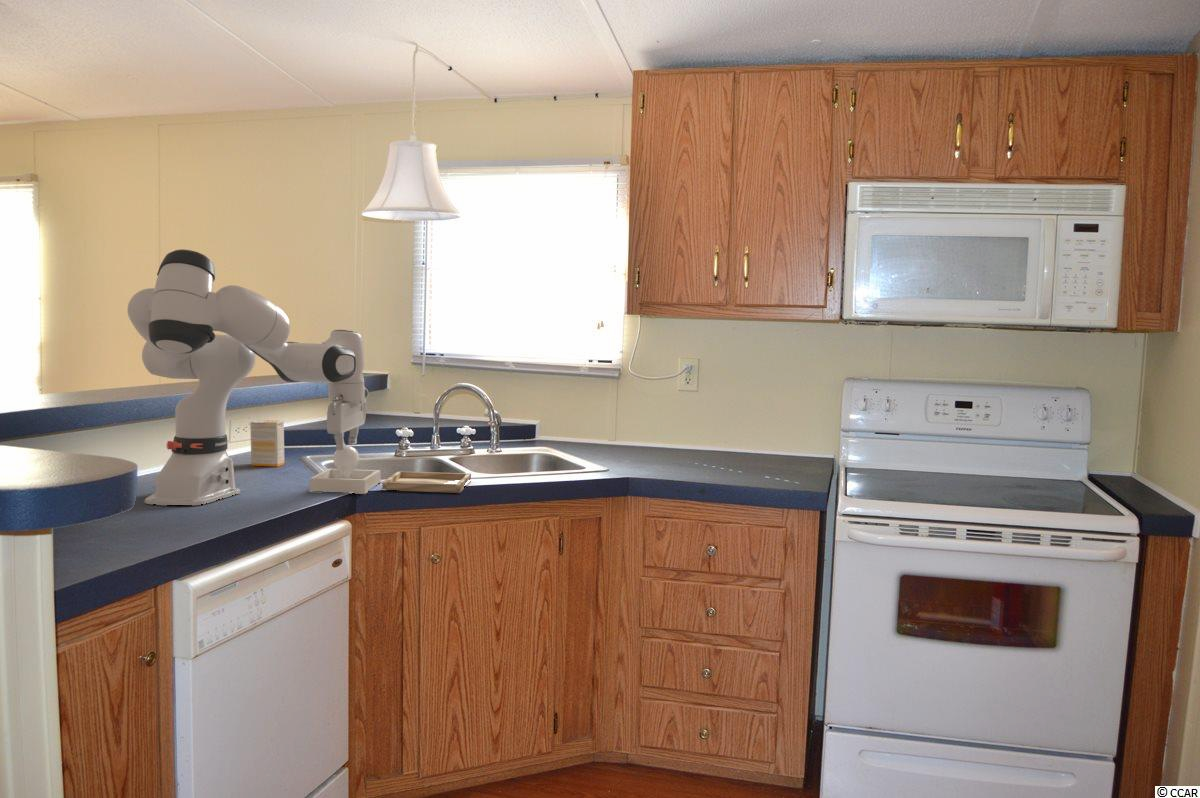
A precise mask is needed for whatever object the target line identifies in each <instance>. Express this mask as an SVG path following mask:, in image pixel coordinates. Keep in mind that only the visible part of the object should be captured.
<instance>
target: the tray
mask: <svg viewBox="0 0 1200 798" xmlns="http://www.w3.org/2000/svg"><path fill="white" fill-rule="evenodd" d="M470 479H471V480H472V473H469V472H468V473H465V472H462V473H461V472H457V473H456V472H438V471H436V472H433V471H432V472H431V471H404V470H403V471H400V470H398V471H396V472H395V473H394V474H392V475H391V476H389V477H388V478H387V479H385V480H383V481H382V487H381V488H382V489H385V490H384V491H387V490H397V491H396V492H421V493H423V492H424V493H448V494H449V493H451V494H453V493H454V494H455V493H456V494H461V493H462V492H463V490H464V489H465V488H464V485H465V483H466V482H467V481H468V480H470ZM455 480H460V481H459V482H458V483H457V484H444V483H447V482H448V481H455ZM398 490H399V491H398Z"/></svg>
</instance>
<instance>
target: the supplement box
mask: <svg viewBox="0 0 1200 798" xmlns="http://www.w3.org/2000/svg"><path fill="white" fill-rule="evenodd" d="M284 422H285V421H284V420H272V419H271V420H270V419H269V420H268V419H267V420H265V419H257V420H256V419H255V420H253V421H250V422H249V424H250V463H251V465H250V466H251V467H273V468H276V467H277V468H278V467H281V466H284V465H285V430H284V429H285V425H284Z"/></svg>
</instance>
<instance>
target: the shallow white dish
mask: <svg viewBox="0 0 1200 798" xmlns="http://www.w3.org/2000/svg"><path fill="white" fill-rule="evenodd" d="M381 471H382V470H380V469H378V470H377V469H356V468H354V470H353V474H352V479H341V476H340V473H339V470H338V468H327V469H325V470H323V471H321V472H319V473H317V474H316V475H313V476H311V477H309V492H310V491H334V492H353V493H355V494H357V495H358V494H360V495H366V494H367V493H369V492H368V490H369V489H370V488H372V487H373V486H375V485H377V484H378V483H379V482H381V480H382V479H381V476H382V475H381V474H382V473H381ZM377 486H378V485H377ZM355 494H354V495H355Z"/></svg>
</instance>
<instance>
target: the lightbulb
mask: <svg viewBox="0 0 1200 798" xmlns="http://www.w3.org/2000/svg"><path fill="white" fill-rule="evenodd" d="M332 456H333V457H332V459H333V462H334V465H335V466H336V469H338V470H339V473H340V476H341V479H352V474H353V470H354V469H356V466H357V465H358V463H359V460H360V453H359V452H358V450H357V449H356V448H355V447H354V446H352V445H349V444H348V445H346V444H345V449H343V450H337V449H335V451H334V453H333V455H332Z"/></svg>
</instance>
